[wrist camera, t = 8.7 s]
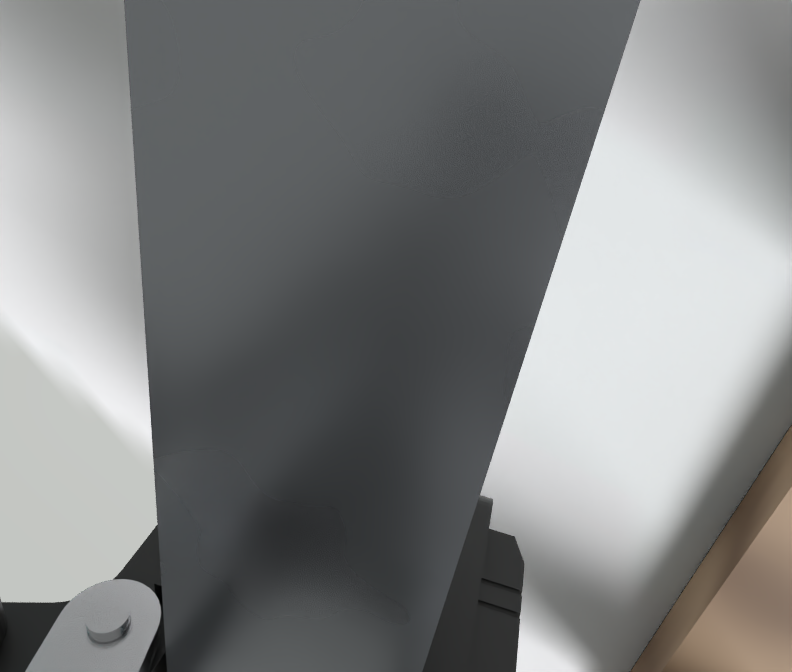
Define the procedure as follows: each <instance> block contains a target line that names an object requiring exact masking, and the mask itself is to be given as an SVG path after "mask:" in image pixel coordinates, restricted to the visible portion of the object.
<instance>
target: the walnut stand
mask: <svg viewBox="0 0 792 672" xmlns="http://www.w3.org/2000/svg"><path fill="white" fill-rule="evenodd" d="M630 672H792V425H791V427H790V428H789V430H788V431H787V433H786V434H785V436H784V437H783V439H782V440H781V442H780V443H779V445H778V447H777V448H776V450H775V451H774V453H773V454H772V456H771V457H770V459H769V460H768V462H767V463H766V465H765V466H764V468H763V469H762V471H761V473H760V474H759V476H758V477H757V479H756V480H755V482H754V483H753V485H752V486H751V488H750V489H749V491H748V492H747V494H746V495H745V497H744V499H743V500H742V502H741V503H740V505H739V506H738V508H737V509H736V511H735V512H734V514H733V515H732V517H731V518H730V520H729V521H728V523H727V525H726V526H725V528H724V529H723V531H722V532H721V534H720V535H719V537H718V538H717V540H716V541H715V543H714V544H713V546H712V547H711V549H710V551H709V552H708V554H707V555H706V557H705V558H704V560H703V561H702V563H701V564H700V566H699V567H698V569H697V570H696V572H695V573H694V575H693V576H692V578H691V580H690V581H689V583H688V584H687V586H686V587H685V589H684V590H683V592H682V593H681V595H680V596H679V598H678V599H677V601H676V602H675V604H674V606H673V607H672V609H671V610H670V612H669V613H668V615H667V616H666V618H665V619H664V621H663V622H662V624H661V625H660V627H659V628H658V630H657V632H656V633H655V635H654V636H653V638H652V639H651V641H650V642H649V644H648V645H647V647H646V648H645V650H644V651H643V653H642V654H641V656H640V658H639V659H638V661H637V662H636V664H635V665H634V667H633V668H632V670H631V671H630Z"/></svg>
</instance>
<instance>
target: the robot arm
mask: <svg viewBox="0 0 792 672" xmlns="http://www.w3.org/2000/svg"><path fill="white" fill-rule="evenodd" d="M492 505H493V499H491V498H487V497H484V496H481V495H479V499H478V502H477V505H476V508H475V511H474V514H473V517H472V520H471V523H470V526H469V529H468V532H467V535H466V538H465V542H464V545H463V548H462V551H461V554H460V557H459V560H458V563H457V566H456V569H455V572H454V575H453V578H452V582H451V585H450V588H449V591H448V594H447V597H446V600H445V603H444V606H443V609H442V612H441V615H440V618H439V622H438V625H437V628H436V631H435V634H434V637H433V640H432V643H431V646H430V649H429V652H428V655H427V658H426V662H425V665H424V668H423V671H422V672H516V662H517V650H518V637H519V624H520V619H519V616H520V612H521V599H522V596H521V593H522V586H523V574H524V561H523V559H522V556H521V553H520V550H519V548H518V545H517V542H516V539H515V537H514V536H511V535H507V534H504V533H501V532H498V531H494V530H491V529H489V525H490V518H491V512H492ZM0 672H167V663H166V648H165V632H164V616H163V600H162V585H161V569H160V553H159V537H158V525H157V526H156V527H155V529H154V530H153V531H152V533H151V534H150V535H149V536H148V538H147V539H146V540H145V541H144V543H143V544H142V545H141V547H140V548H139V549H138V550H137V552H136V553H135V554H134V556H133V557H132V558H131V559H130V561H129V562H128V563H127V564H126V566H125V567H124V569H123V570H122V571H121V572H120V573H119V574H118V575H117V576H116V577H115V578H114V579H113V580H109V581H104V582H101V583H98V584H95V585H93V586H91V587H89V588H87V589H85V590H84V591H82V592H81V593H79V594H78V595H77V596H75V597H74V598H73V599H72V600H71V601H66V602H56V603H15V602H14V603H13V602H12V603H10V602H7V603H6V602H1V599H0Z"/></svg>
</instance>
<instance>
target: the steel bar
mask: <svg viewBox="0 0 792 672" xmlns="http://www.w3.org/2000/svg"><path fill="white" fill-rule="evenodd" d="M124 3H125V18H126V34H127V50H128V66H129V81H130V97H131V113H132V129H133V144H134V160H135V176H136V191H137V207H138V223H139V239H140V254H141V270H142V286H143V302H144V317H145V333H146V349H147V364H148V380H149V396H150V412H151V427H152V443H153V459H154V475H155V490H156V505H157V520H158V521H157V522H158V537H159V553H160V569H161V585H162V600H163V616H164V632H165V648H166V663H167V672H422V671H423V668H424V665H425V662H426V658H427V655H428V652H429V649H430V646H431V643H432V640H433V637H434V634H435V631H436V628H437V625H438V622H439V618H440V615H441V612H442V609H443V606H444V603H445V600H446V597H447V594H448V591H449V588H450V585H451V582H452V578H453V575H454V572H455V569H456V566H457V563H458V560H459V557H460V554H461V551H462V548H463V545H464V542H465V538H466V535H467V532H468V529H469V526H470V523H471V520H472V517H473V514H474V511H475V508H476V505H477V502H478V499H479V495H480V492H481V489H482V486H483V483H484V480H485V477H486V474H487V471H488V468H489V465H490V462H491V459H492V455H493V452H494V449H495V446H496V443H497V440H498V437H499V434H500V431H501V428H502V425H503V422H504V419H505V415H506V412H507V409H508V406H509V403H510V400H511V397H512V394H513V391H514V388H515V385H516V382H517V379H518V375H519V372H520V369H521V366H522V363H523V360H524V357H525V354H526V351H527V348H528V345H529V342H530V339H531V335H532V332H533V329H534V326H535V323H536V320H537V317H538V314H539V311H540V308H541V305H542V302H543V299H544V295H545V292H546V289H547V286H548V283H549V280H550V277H551V274H552V271H553V268H554V265H555V262H556V259H557V255H558V252H559V249H560V246H561V243H562V240H563V237H564V234H565V231H566V228H567V225H568V222H569V219H570V215H571V212H572V209H573V206H574V203H575V200H576V197H577V194H578V191H579V188H580V185H581V182H582V179H583V175H584V172H585V169H586V166H587V163H588V160H589V157H590V154H591V151H592V148H593V145H594V142H595V139H596V136H597V132H598V129H599V126H600V123H601V120H602V117H603V114H604V111H605V108H606V105H607V102H608V99H609V96H610V92H611V89H612V86H613V83H614V80H615V77H616V74H617V71H618V68H619V65H620V62H621V59H622V56H623V52H624V49H625V46H626V43H627V40H628V37H629V34H630V31H631V28H632V25H633V22H634V19H635V16H636V12H637V9H638V6H639V3H640V0H124Z"/></svg>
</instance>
